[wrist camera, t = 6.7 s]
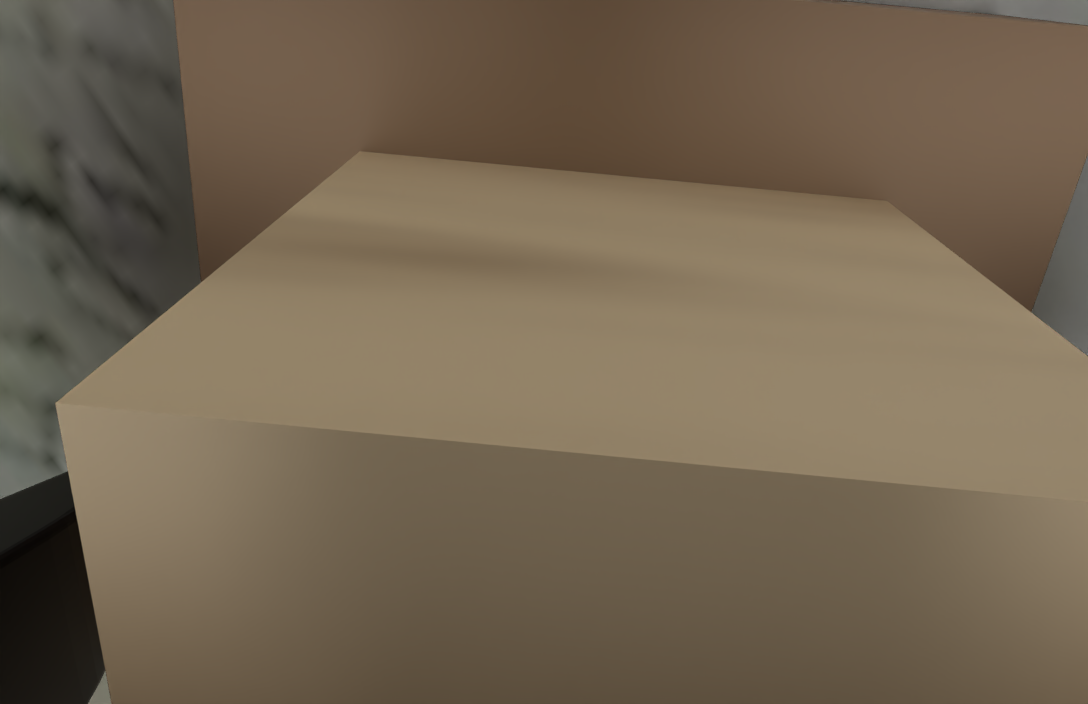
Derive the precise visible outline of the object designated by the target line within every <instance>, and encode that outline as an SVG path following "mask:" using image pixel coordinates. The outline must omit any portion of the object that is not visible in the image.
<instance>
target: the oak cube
mask: <svg viewBox="0 0 1088 704" xmlns="http://www.w3.org/2000/svg"><path fill="white" fill-rule="evenodd" d="M55 404H56V410H57V415H58V420H59V426H60V431H61V436H62V442H63V447H64V452H65V458H66V463H67V468H68V474H69V479H70V484H71V490H72V495H73V500H74V506H75V511H76V516H77V522H78V527H79V532H80V537H81V543H82V548H83V553H84V559H85V564H86V569H87V575H88V580H89V585H90V591H91V596H92V601H93V607H94V612H95V617H96V623H97V628H98V633H99V639H100V644H101V649H102V655H103V660H104V665H105V671H106V676H107V681H108V687H109V692H110V697H111V703H112V704H1088V356H1087V355H1085V354H1084V353H1083V352H1082V351H1080V350H1079V349H1078V348H1076V347H1075V346H1074V345H1073V344H1071V343H1070V342H1069V341H1067V340H1066V339H1065V338H1063V337H1062V336H1061V335H1060V334H1058V333H1057V332H1056V331H1054V330H1053V329H1052V328H1051V327H1049V326H1048V325H1047V324H1045V323H1044V322H1043V321H1042V320H1040V319H1039V318H1038V317H1036V316H1035V315H1034V314H1032V313H1031V312H1030V311H1029V310H1027V309H1026V308H1025V307H1023V306H1022V305H1021V304H1020V303H1018V302H1017V301H1016V300H1014V299H1013V298H1012V297H1011V296H1009V295H1008V294H1007V293H1005V292H1004V291H1003V290H1001V289H1000V288H999V287H998V286H996V285H995V284H994V283H992V282H991V281H990V280H989V279H987V278H986V277H985V276H983V275H982V274H981V273H980V272H978V271H977V270H976V269H974V268H973V267H972V266H970V265H969V264H968V263H967V262H965V261H964V260H963V259H961V258H960V257H959V256H958V255H956V254H955V253H954V252H952V251H951V250H950V249H949V248H947V247H946V246H945V245H943V244H942V243H941V242H939V241H938V240H937V239H936V238H934V237H933V236H932V235H930V234H929V233H928V232H927V231H925V230H924V229H923V228H921V227H920V226H919V225H918V224H916V223H915V222H914V221H912V220H911V219H910V218H908V217H907V216H906V215H905V214H903V213H902V212H901V211H899V210H898V209H897V208H896V207H894V206H893V205H892V204H890V203H889V202H888V201H883V200H872V199H862V198H851V197H840V196H830V195H819V194H809V193H798V192H787V191H777V190H766V189H755V188H745V187H734V186H724V185H713V184H702V183H692V182H681V181H671V180H660V179H649V178H639V177H628V176H617V175H607V174H596V173H586V172H575V171H564V170H554V169H543V168H532V167H522V166H511V165H501V164H490V163H479V162H469V161H458V160H448V159H437V158H426V157H416V156H405V155H394V154H384V153H373V152H363V151H360V152H358V153H357V154H356V155H355V156H354V157H352V158H351V159H350V160H349V161H347V162H346V163H345V164H344V165H343V166H341V167H340V168H339V169H338V170H337V171H335V172H334V173H333V174H332V175H331V176H329V177H328V178H327V179H326V180H324V181H323V182H322V183H321V184H320V185H318V186H317V187H316V188H315V189H314V190H312V191H311V192H310V193H309V194H308V195H306V196H305V197H304V198H303V199H302V200H300V201H299V202H298V203H297V204H295V205H294V206H293V207H292V208H291V209H289V210H288V211H287V212H286V213H285V214H283V215H282V216H281V217H280V218H279V219H277V220H276V221H275V222H274V223H272V224H271V225H270V226H269V227H268V228H266V229H265V230H264V231H263V232H262V233H260V234H259V235H258V236H257V237H256V238H254V239H253V240H252V241H251V242H250V243H248V244H247V245H246V246H245V247H243V248H242V249H241V250H240V251H239V252H237V253H236V254H235V255H234V256H233V257H231V258H230V259H229V260H228V261H227V262H225V263H224V264H223V265H222V266H220V267H219V268H218V269H217V270H216V271H214V272H213V273H212V274H211V275H210V276H208V277H207V278H206V279H205V280H204V281H202V282H201V283H200V284H199V285H198V286H196V287H195V288H194V289H193V290H191V291H190V292H189V293H188V294H187V295H185V296H184V297H183V298H182V299H181V300H179V301H178V302H177V303H176V304H175V305H173V306H172V307H171V308H170V309H168V310H167V311H166V312H165V313H164V314H162V315H161V316H160V317H159V318H158V319H156V320H155V321H154V322H153V323H152V324H150V325H149V326H148V327H147V328H146V329H144V330H143V331H142V332H141V333H139V334H138V335H137V336H136V337H135V338H133V339H132V340H131V341H130V342H129V343H127V344H126V345H125V346H124V347H123V348H121V349H120V350H119V351H118V352H116V353H115V354H114V355H113V356H112V357H110V358H109V359H108V360H107V361H106V362H104V363H103V364H102V365H101V366H100V367H98V368H97V369H96V370H95V371H93V372H92V373H91V374H90V375H89V376H87V377H86V378H85V379H84V380H83V381H81V382H80V383H79V384H78V385H77V386H75V387H74V388H73V389H72V390H71V391H69V392H68V393H67V394H66V395H64V396H63V397H62V398H61V399H60V400H58V401H57V402H56V403H55Z"/></svg>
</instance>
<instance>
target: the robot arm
mask: <svg viewBox="0 0 1088 704" xmlns="http://www.w3.org/2000/svg"><path fill="white" fill-rule="evenodd" d="M104 672H105V665H104V660H103V655H102V649H101V644H100V639H99V633H98V628H97V623H96V617H95V612H94V607H93V601H92V596H91V591H90V585H89V580H88V575H87V569H86V564H85V559H84V553H83V548H82V543H81V537H80V532H79V527H78V522H77V516H76V511H75V506H74V500H73V495H72V490H71V484H70V479H69V474H68V472H65V473H63V474H60V475H58V476H55V477H53V478H51V479H48V480H46V481H43V482H41V483H38V484H36V485H34V486H31V487H29V488H26V489H24V490H21V491H19V492H17V493H14V494H12V495H9V496H7V497H5V498H2V499H0V704H88V702H89V701H90V699H91V697H92V695H93V693H94V692H95V690H96V688H97V686H98V685H99V683H100V680H101V678H102V676H103V674H104Z"/></svg>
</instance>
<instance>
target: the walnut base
mask: <svg viewBox="0 0 1088 704" xmlns="http://www.w3.org/2000/svg"><path fill="white" fill-rule="evenodd" d="M173 3H174V13H175V23H176V34H177V44H178V54H179V64H180V74H181V84H182V94H183V104H184V115H185V125H186V135H187V145H188V155H189V165H190V175H191V185H192V196H193V206H194V216H195V226H196V236H197V246H198V256H199V266H200V277H201V282H202V281H204V280H205V279H206V278H207V277H208V276H210V275H211V274H212V273H213V272H214V271H216V270H217V269H218V268H219V267H220V266H222V265H223V264H224V263H225V262H227V261H228V260H229V259H230V258H231V257H233V256H234V255H235V254H236V253H237V252H239V251H240V250H241V249H242V248H243V247H245V246H246V245H247V244H248V243H250V242H251V241H252V240H253V239H254V238H256V237H257V236H258V235H259V234H260V233H262V232H263V231H264V230H265V229H266V228H268V227H269V226H270V225H271V224H272V223H274V222H275V221H276V220H277V219H279V218H280V217H281V216H282V215H283V214H285V213H286V212H287V211H288V210H289V209H291V208H292V207H293V206H294V205H295V204H297V203H298V202H299V201H300V200H302V199H303V198H304V197H305V196H306V195H308V194H309V193H310V192H311V191H312V190H314V189H315V188H316V187H317V186H318V185H320V184H321V183H322V182H323V181H324V180H326V179H327V178H328V177H329V176H331V175H332V174H333V173H334V172H335V171H337V170H338V169H339V168H340V167H341V166H343V165H344V164H345V163H346V162H347V161H349V160H350V159H351V158H352V157H354V156H355V155H356V154H357V153H358V152H360V151H363V152H373V153H384V154H394V155H405V156H416V157H426V158H437V159H448V160H458V161H469V162H479V163H490V164H501V165H511V166H522V167H532V168H543V169H554V170H564V171H575V172H586V173H596V174H607V175H617V176H628V177H639V178H649V179H660V180H671V181H681V182H692V183H702V184H713V185H724V186H734V187H745V188H755V189H766V190H777V191H787V192H798V193H809V194H819V195H830V196H840V197H851V198H862V199H872V200H883V201H888V202H889V203H890V204H892V205H893V206H894V207H896V208H897V209H898V210H899V211H901V212H902V213H903V214H905V215H906V216H907V217H908V218H910V219H911V220H912V221H914V222H915V223H916V224H918V225H919V226H920V227H921V228H923V229H924V230H925V231H927V232H928V233H929V234H930V235H932V236H933V237H934V238H936V239H937V240H938V241H939V242H941V243H942V244H943V245H945V246H946V247H947V248H949V249H950V250H951V251H952V252H954V253H955V254H956V255H958V256H959V257H960V258H961V259H963V260H964V261H965V262H967V263H968V264H969V265H970V266H972V267H973V268H974V269H976V270H977V271H978V272H980V273H981V274H982V275H983V276H985V277H986V278H987V279H989V280H990V281H991V282H992V283H994V284H995V285H996V286H998V287H999V288H1000V289H1001V290H1003V291H1004V292H1005V293H1007V294H1008V295H1009V296H1011V297H1012V298H1013V299H1014V300H1016V301H1017V302H1018V303H1020V304H1021V305H1022V306H1023V307H1025V308H1026V309H1027V310H1029V311H1030V312H1032V309H1033V306H1034V303H1035V300H1036V298H1037V295H1038V292H1039V289H1040V286H1041V284H1042V281H1043V278H1044V275H1045V272H1046V270H1047V267H1048V264H1049V261H1050V258H1051V256H1052V253H1053V250H1054V247H1055V244H1056V242H1057V239H1058V236H1059V233H1060V230H1061V228H1062V225H1063V222H1064V219H1065V216H1066V214H1067V211H1068V208H1069V205H1070V202H1071V200H1072V197H1073V194H1074V191H1075V188H1076V186H1077V183H1078V180H1079V177H1080V175H1081V172H1082V169H1083V166H1084V163H1085V161H1086V158H1087V155H1088V25H1079V24H1071V23H1062V22H1054V21H1045V20H1037V19H1028V18H1020V17H1011V16H1003V15H992V14H981V13H970V12H959V11H948V10H937V9H926V8H915V7H904V6H893V5H882V4H871V3H860V2H849V1H838V0H173Z"/></svg>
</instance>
